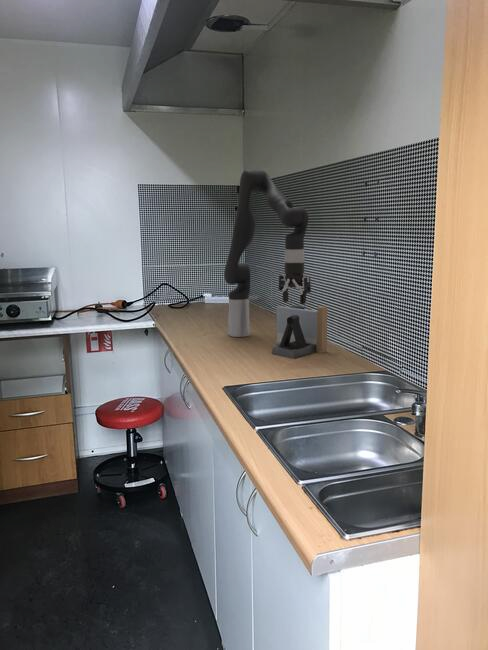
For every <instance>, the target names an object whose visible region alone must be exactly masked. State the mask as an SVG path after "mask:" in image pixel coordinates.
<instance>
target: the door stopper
mask: <svg viewBox="0 0 488 650" xmlns="http://www.w3.org/2000/svg"><path fill="white" fill-rule="evenodd" d="M292 331H293V333H294V337H295V341H296V343H290V339H291V335H292ZM279 345H280V347H291V348H302V347H304V346H305V345H306V341H305V338H304V335H303V332H302V329H301V326H300V323H299V316H298V315H293V316H290V317H288V318H287V326H286V329H285V332H284V335H283V337H282V340H281V343H280V344H279Z"/></svg>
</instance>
